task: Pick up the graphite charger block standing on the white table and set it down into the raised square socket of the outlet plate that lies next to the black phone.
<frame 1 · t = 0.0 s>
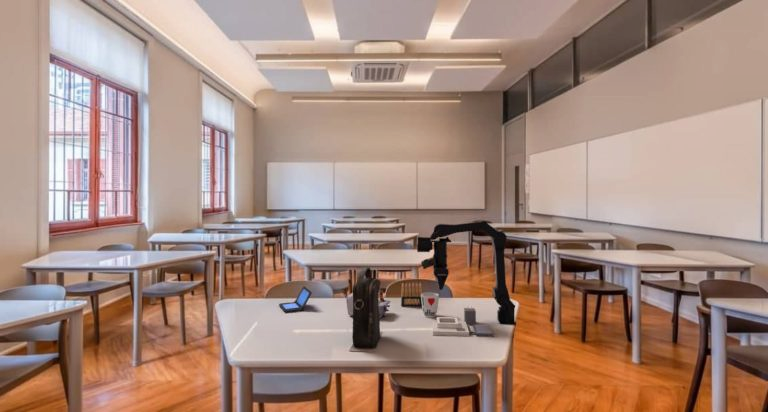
hand: (440, 287, 181), 15 cm above the table, fingers open, 9 cm apart
cup: (430, 316, 188), on the table
outlet plate: (450, 329, 167), on the table
ammunition clip: (411, 306, 206), on the table
handheld game console: (295, 308, 204), on the table
black and grey bar: (471, 333, 163), on the table
shoulder bag: (367, 341, 155), on the table
cell model: (368, 316, 190), on the table
charger block: (469, 323, 176), on the table
phone: (482, 331, 165), on the table
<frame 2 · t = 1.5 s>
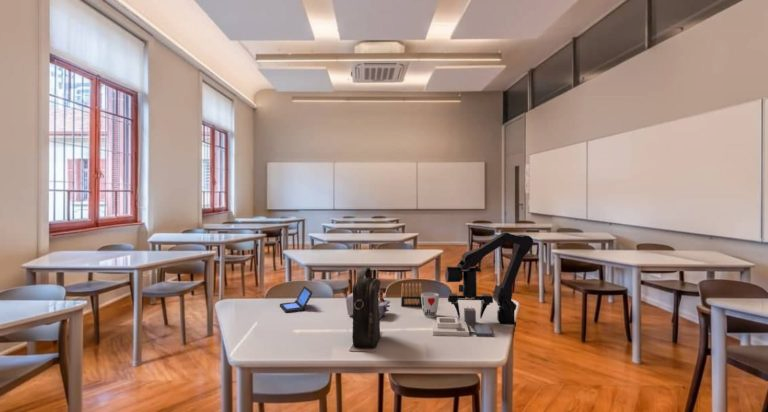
hand: (469, 317, 176), 2 cm above the table, fingers open, 9 cm apart
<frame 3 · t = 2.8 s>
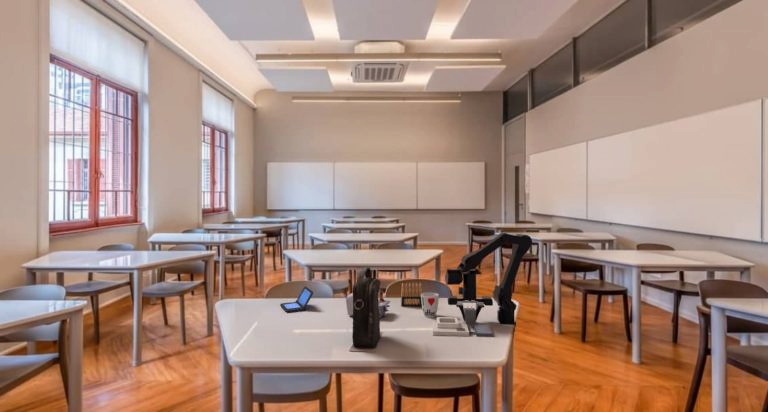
hand: (469, 320, 176), 1 cm above the table, fingers closed on charger block, 4 cm apart
charger block: (469, 323, 176), on the table, touching gripper
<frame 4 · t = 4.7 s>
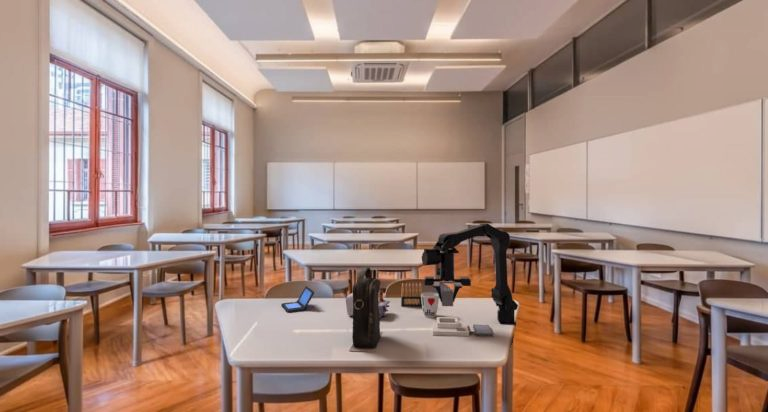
hand: (447, 301, 169), 11 cm above the table, fingers closed on charger block, 4 cm apart
charger block: (447, 304, 169), point 10 cm above the table, touching gripper
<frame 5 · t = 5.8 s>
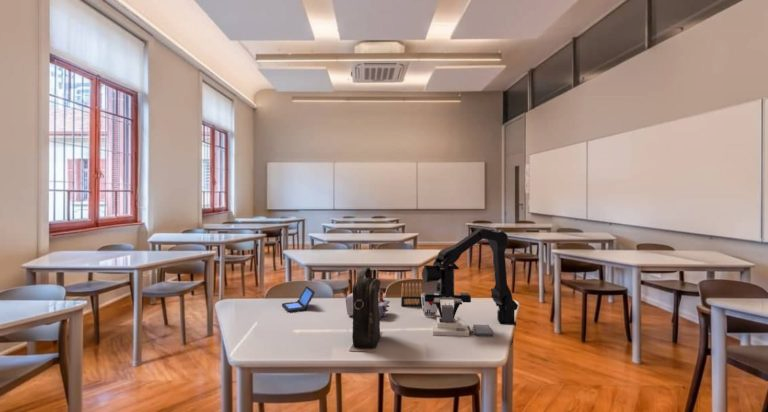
hand: (447, 318, 169), 4 cm above the table, fingers closed on charger block, 4 cm apart
charger block: (447, 320, 169), point 3 cm above the table, touching gripper
when the fingers open (4 cm above the table, at t = 6.6 s): charger block drops 1 cm, resting on outlet plate.
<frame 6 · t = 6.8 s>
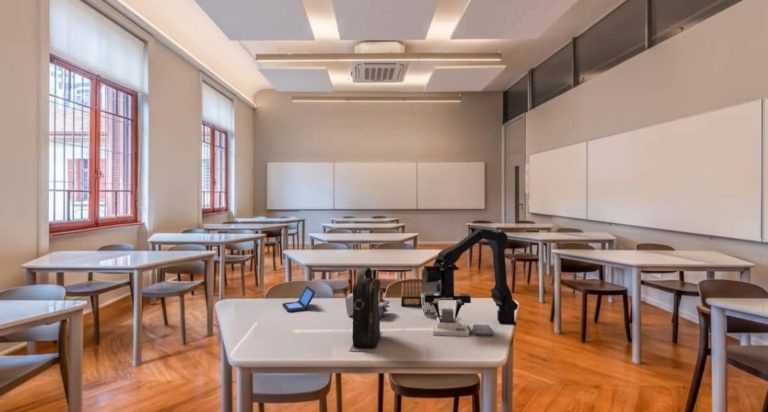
hand: (447, 318, 169), 4 cm above the table, fingers open, 6 cm apart
charger block: (447, 324, 169), point 2 cm above the table, touching outlet plate
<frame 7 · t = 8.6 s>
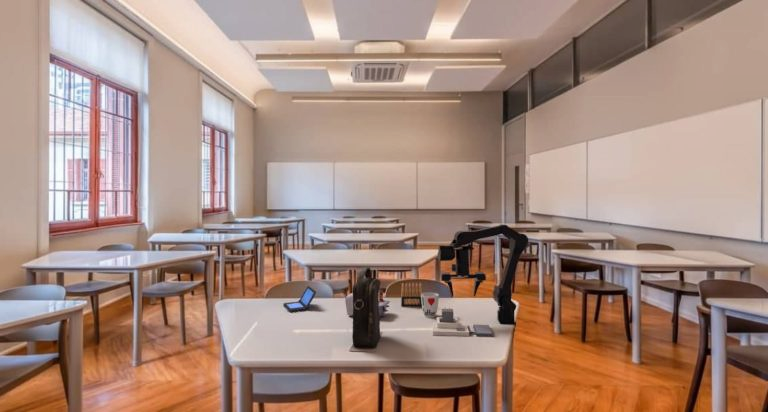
hand: (463, 296, 176), 12 cm above the table, fingers open, 9 cm apart
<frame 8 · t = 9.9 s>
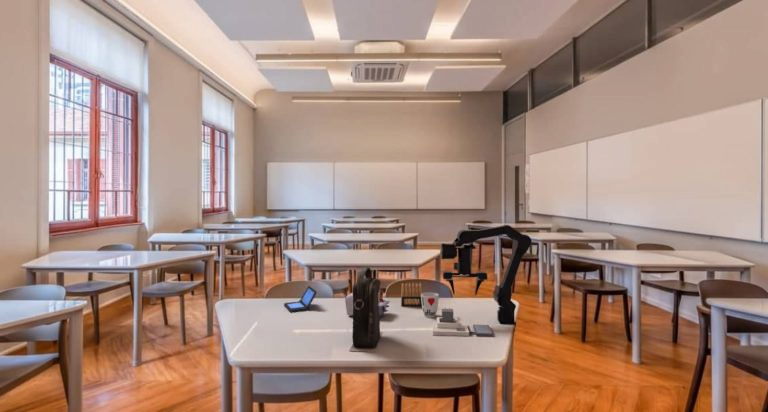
hand: (464, 294, 178), 12 cm above the table, fingers open, 9 cm apart
at the end: charger block 0.1 cm from the target spot on the outlet plate, point 1.7 cm above the outlet plate's base; charger block tilted 0°; the gripper is holding nothing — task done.
